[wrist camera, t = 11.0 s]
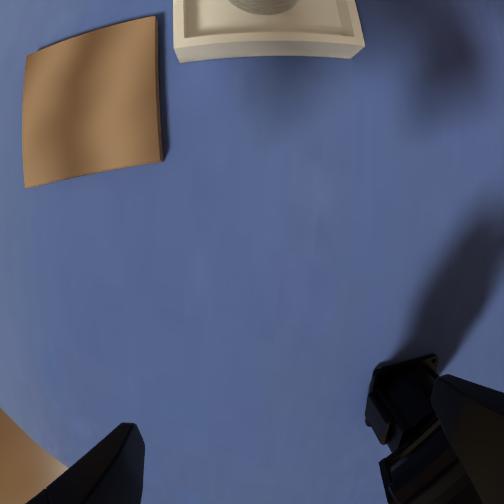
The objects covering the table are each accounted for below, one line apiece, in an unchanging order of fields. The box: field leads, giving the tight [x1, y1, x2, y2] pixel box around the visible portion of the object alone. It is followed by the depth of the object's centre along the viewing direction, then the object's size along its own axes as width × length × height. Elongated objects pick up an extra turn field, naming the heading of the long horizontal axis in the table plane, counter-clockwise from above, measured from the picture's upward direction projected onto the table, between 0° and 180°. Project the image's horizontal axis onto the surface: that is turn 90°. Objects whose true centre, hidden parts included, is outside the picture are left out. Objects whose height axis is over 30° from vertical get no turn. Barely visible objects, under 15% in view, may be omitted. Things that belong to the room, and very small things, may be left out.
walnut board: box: [22, 16, 164, 188], centre depth 16 cm, size 10×10×1 cm
